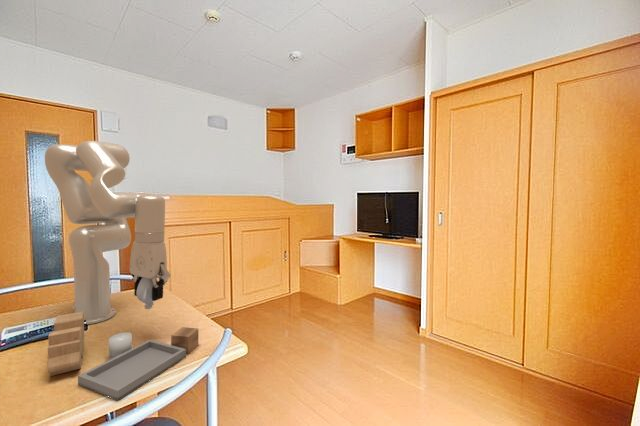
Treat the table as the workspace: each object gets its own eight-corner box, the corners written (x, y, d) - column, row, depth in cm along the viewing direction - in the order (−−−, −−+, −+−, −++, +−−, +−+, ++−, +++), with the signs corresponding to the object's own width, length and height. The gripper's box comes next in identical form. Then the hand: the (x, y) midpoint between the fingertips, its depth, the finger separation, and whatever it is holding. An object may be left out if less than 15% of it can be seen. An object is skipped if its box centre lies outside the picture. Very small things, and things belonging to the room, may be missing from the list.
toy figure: (156, 313, 84) (157, 272, 83) (131, 315, 82) (132, 273, 81) (163, 299, 94) (164, 262, 93) (140, 300, 92) (141, 263, 91)
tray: (78, 385, 66) (77, 375, 65) (150, 346, 82) (150, 339, 82) (117, 401, 61) (117, 390, 61) (186, 357, 78) (186, 349, 77)
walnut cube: (171, 353, 80) (171, 335, 79) (182, 344, 84) (181, 327, 84) (188, 354, 79) (188, 336, 79) (198, 345, 84) (198, 328, 84)
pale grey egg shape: (104, 357, 77) (104, 339, 76) (123, 348, 81) (123, 331, 81) (117, 362, 75) (117, 343, 74) (136, 352, 79) (135, 334, 79)
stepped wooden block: (47, 383, 66) (46, 340, 65) (58, 350, 80) (57, 314, 79) (79, 375, 69) (78, 334, 68) (84, 344, 83) (83, 310, 82)
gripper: (116, 235, 85) (116, 295, 87) (160, 243, 79) (158, 307, 81) (140, 232, 92) (139, 287, 94) (182, 239, 86) (180, 298, 88)
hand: (148, 296), depth 87 cm, fingers closed on toy figure, 6 cm apart
